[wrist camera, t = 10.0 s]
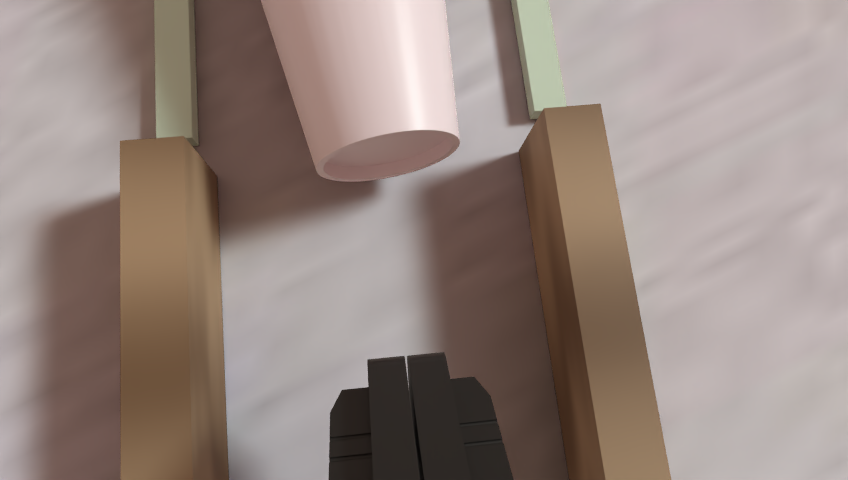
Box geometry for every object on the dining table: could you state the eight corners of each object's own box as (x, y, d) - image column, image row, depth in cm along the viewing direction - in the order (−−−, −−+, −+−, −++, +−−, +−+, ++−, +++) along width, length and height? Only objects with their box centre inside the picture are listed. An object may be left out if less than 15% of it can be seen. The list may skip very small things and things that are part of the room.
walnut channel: (639, 573, 16) (696, 616, 13) (172, 641, 15) (120, 705, 12) (566, 147, 19) (600, 103, 16) (164, 180, 17) (119, 140, 15)
